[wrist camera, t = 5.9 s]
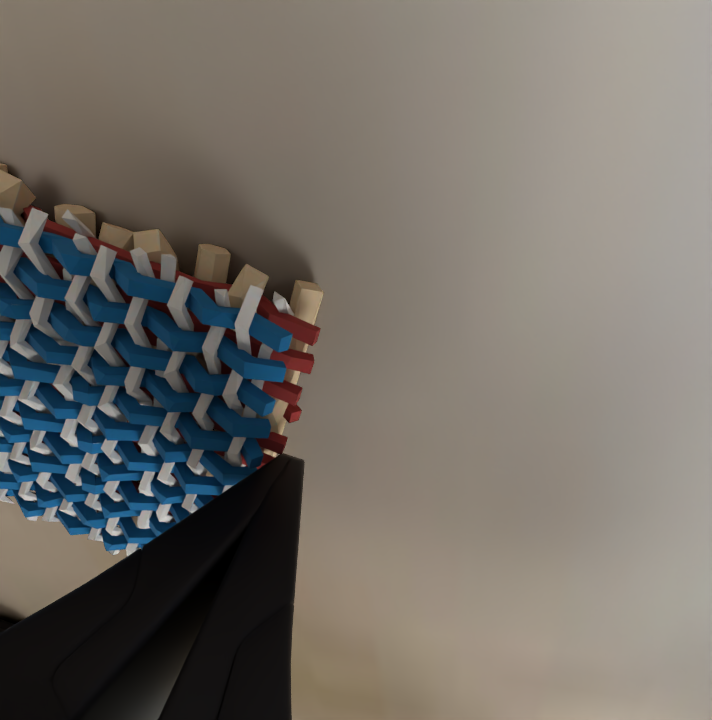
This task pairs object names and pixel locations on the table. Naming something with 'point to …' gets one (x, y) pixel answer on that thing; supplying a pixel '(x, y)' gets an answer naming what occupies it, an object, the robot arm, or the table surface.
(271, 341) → the woven mat
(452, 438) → the table surface
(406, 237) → the table surface
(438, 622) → the table surface
